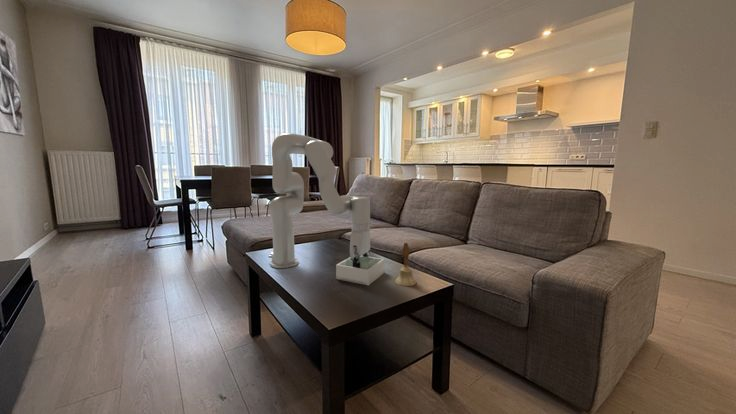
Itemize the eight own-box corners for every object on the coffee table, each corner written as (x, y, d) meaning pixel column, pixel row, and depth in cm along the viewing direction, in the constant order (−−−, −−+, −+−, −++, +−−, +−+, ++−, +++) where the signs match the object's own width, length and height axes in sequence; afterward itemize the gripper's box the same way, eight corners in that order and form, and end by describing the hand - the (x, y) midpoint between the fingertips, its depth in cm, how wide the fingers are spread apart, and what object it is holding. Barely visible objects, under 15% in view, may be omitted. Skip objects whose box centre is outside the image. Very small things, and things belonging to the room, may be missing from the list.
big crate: (336, 279, 123) (336, 264, 122) (355, 267, 137) (354, 254, 136) (368, 285, 116) (368, 270, 115) (384, 272, 130) (384, 259, 129)
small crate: (346, 271, 125) (346, 259, 125) (354, 266, 131) (354, 255, 131) (367, 275, 121) (367, 263, 120) (375, 269, 127) (375, 258, 126)
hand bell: (406, 288, 114) (407, 247, 112) (390, 281, 120) (391, 242, 118) (420, 282, 119) (421, 243, 117) (405, 276, 126) (405, 239, 123)
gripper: (362, 222, 133) (362, 261, 135) (341, 230, 117) (342, 273, 120) (378, 223, 129) (377, 263, 132) (358, 232, 114) (358, 277, 117)
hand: (360, 268), depth 126 cm, fingers closed on small crate, 7 cm apart
